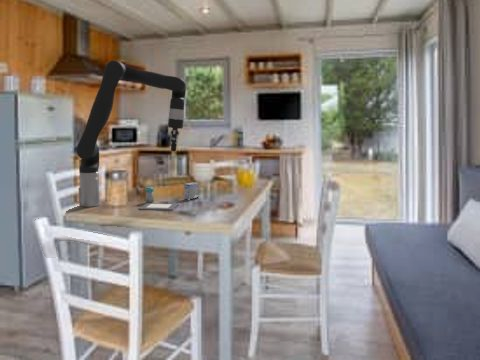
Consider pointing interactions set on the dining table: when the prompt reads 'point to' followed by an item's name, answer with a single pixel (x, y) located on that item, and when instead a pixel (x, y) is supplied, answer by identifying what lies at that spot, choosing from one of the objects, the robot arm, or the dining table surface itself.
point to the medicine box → (191, 190)
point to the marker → (149, 195)
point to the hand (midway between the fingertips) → (173, 150)
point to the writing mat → (158, 206)
